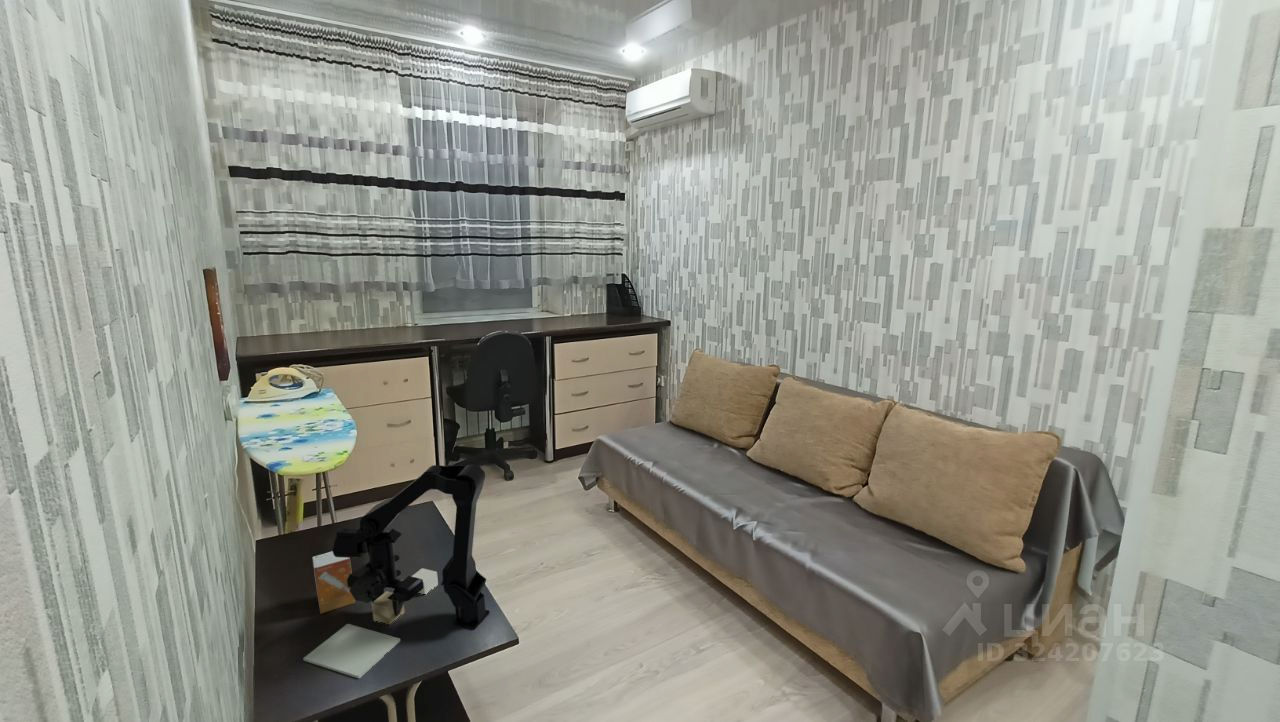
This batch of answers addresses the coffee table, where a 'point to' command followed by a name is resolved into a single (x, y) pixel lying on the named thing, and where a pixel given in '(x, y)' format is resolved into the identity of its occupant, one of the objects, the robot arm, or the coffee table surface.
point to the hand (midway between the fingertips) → (388, 612)
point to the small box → (332, 581)
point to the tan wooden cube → (384, 609)
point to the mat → (352, 650)
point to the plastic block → (427, 579)
